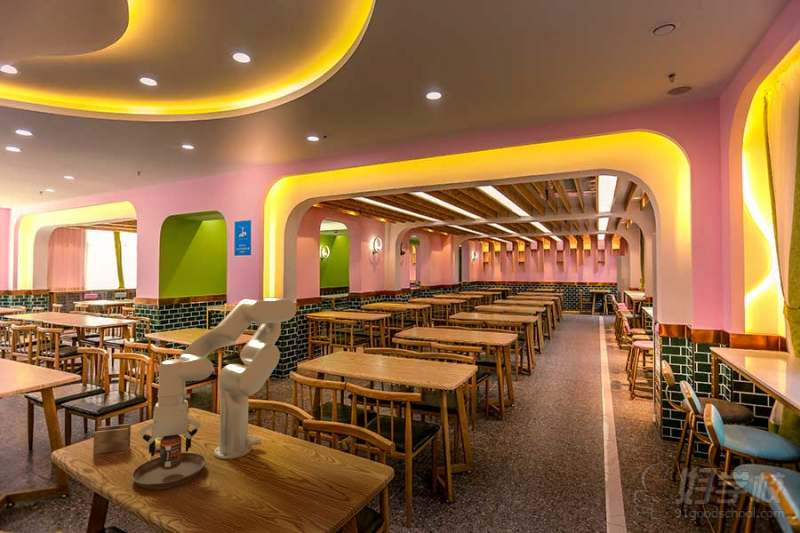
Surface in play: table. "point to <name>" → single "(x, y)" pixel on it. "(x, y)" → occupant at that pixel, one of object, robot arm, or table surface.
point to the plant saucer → (168, 472)
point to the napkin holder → (112, 440)
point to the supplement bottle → (170, 452)
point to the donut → (157, 443)
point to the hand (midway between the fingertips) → (170, 452)
